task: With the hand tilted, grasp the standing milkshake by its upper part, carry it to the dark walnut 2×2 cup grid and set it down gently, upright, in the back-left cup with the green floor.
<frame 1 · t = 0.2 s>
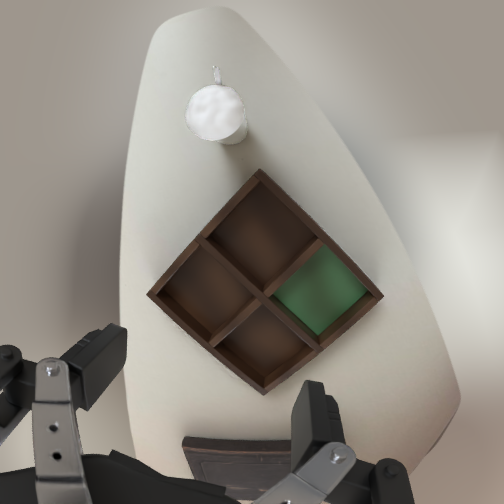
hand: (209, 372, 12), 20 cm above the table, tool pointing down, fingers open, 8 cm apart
hardcover book: (265, 467, 39), on the table
grid: (264, 288, 32), on the table
milkshake: (232, 126, 29), on the table
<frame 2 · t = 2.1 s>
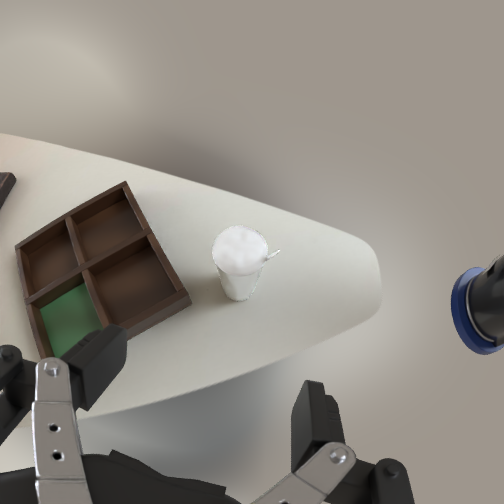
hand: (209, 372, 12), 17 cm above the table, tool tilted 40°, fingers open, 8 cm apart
grid: (93, 277, 31), on the table
milkshake: (242, 289, 32), on the table
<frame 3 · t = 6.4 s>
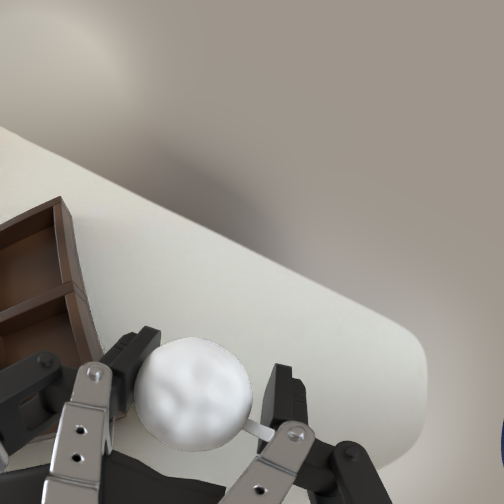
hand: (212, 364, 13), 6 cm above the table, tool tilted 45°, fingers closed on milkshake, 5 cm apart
grid: (3, 336, 17), on the table
milkshake: (208, 405, 17), on the table, touching gripper
when the fingers open (7 cm above the table, at t = 18.7 s): milkshake stays where it is, resting on grid.
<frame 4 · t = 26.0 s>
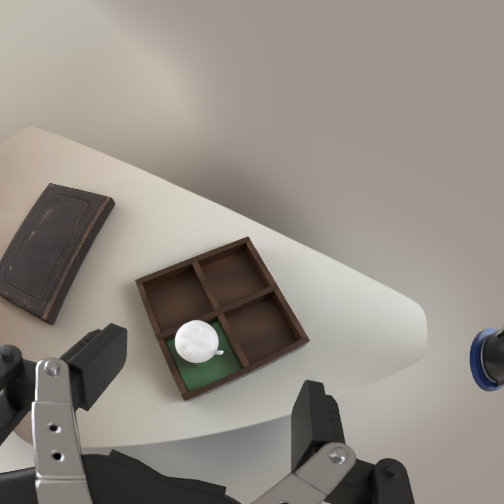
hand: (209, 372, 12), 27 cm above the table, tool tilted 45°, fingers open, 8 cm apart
hardcover book: (51, 249, 43), on the table
grid: (218, 318, 41), on the table
milkshake: (204, 357, 37), point 1 cm above the table, touching grid
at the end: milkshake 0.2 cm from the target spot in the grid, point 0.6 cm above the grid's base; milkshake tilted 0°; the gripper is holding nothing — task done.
